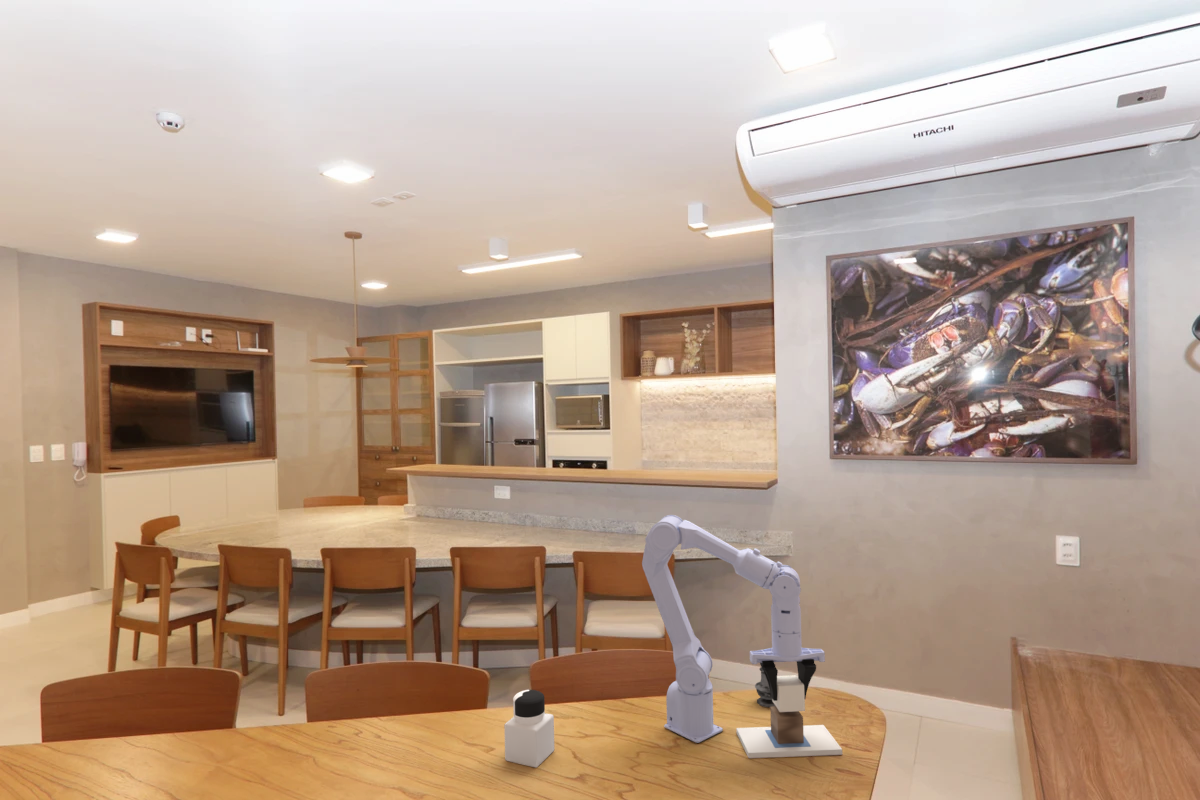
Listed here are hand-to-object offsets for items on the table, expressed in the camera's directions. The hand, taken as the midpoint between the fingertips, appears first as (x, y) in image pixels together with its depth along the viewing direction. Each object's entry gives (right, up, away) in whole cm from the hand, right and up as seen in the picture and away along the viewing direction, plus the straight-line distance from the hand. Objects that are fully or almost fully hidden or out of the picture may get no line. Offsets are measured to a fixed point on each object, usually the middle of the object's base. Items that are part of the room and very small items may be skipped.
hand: (788, 698), depth 134 cm
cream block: (0, -2, 0) cm, 2 cm away
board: (0, -9, -1) cm, 9 cm away
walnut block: (0, -8, -1) cm, 8 cm away
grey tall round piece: (+1, -9, +18) cm, 20 cm away
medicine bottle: (-51, -10, -3) cm, 52 cm away
